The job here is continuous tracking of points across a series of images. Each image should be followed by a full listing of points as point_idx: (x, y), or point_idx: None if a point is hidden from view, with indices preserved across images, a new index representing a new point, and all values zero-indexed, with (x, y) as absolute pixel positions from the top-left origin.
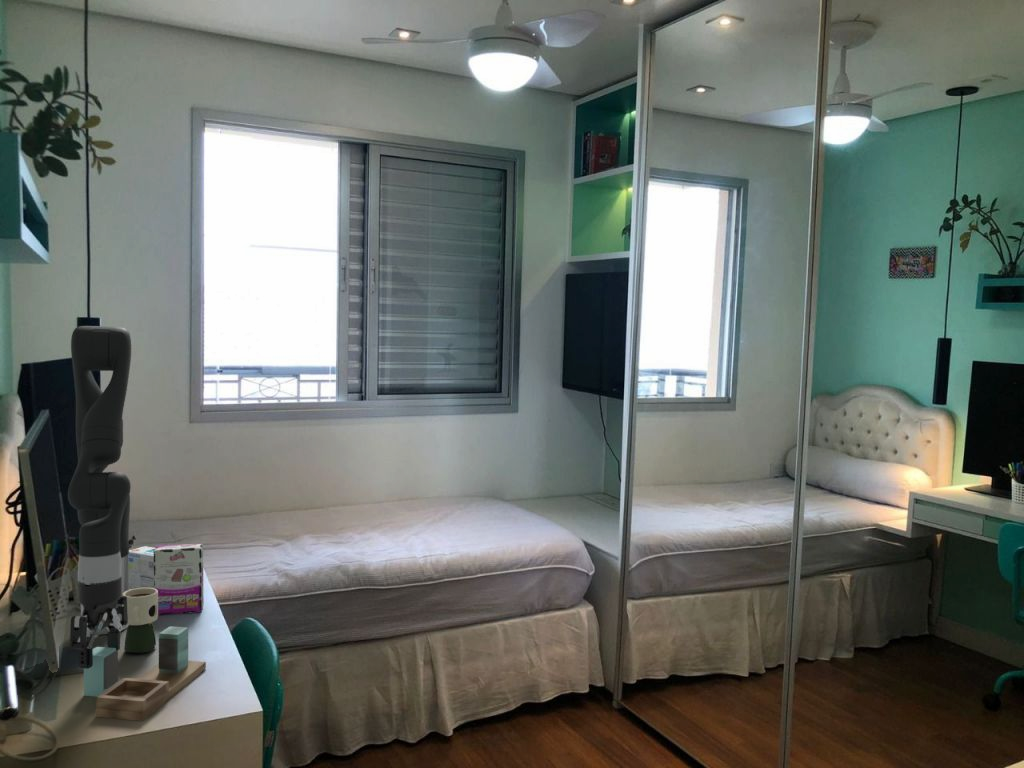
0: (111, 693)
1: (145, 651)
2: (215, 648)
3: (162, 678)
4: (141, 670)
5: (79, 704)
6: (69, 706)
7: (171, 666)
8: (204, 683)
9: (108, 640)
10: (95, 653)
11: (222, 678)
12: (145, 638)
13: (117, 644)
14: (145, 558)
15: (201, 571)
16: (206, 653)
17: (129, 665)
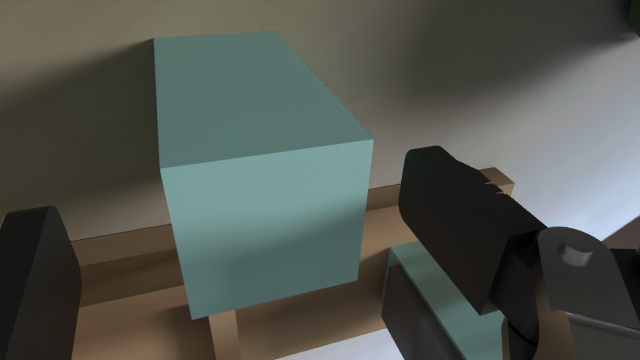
0: None
1: (633, 26)
2: (605, 215)
3: (338, 290)
4: (461, 112)
5: (44, 94)
6: None
7: (389, 314)
8: (361, 341)
9: (456, 195)
10: (225, 236)
11: (396, 351)
12: None
13: (424, 242)
14: None
15: None
16: (573, 216)
17: (519, 24)
